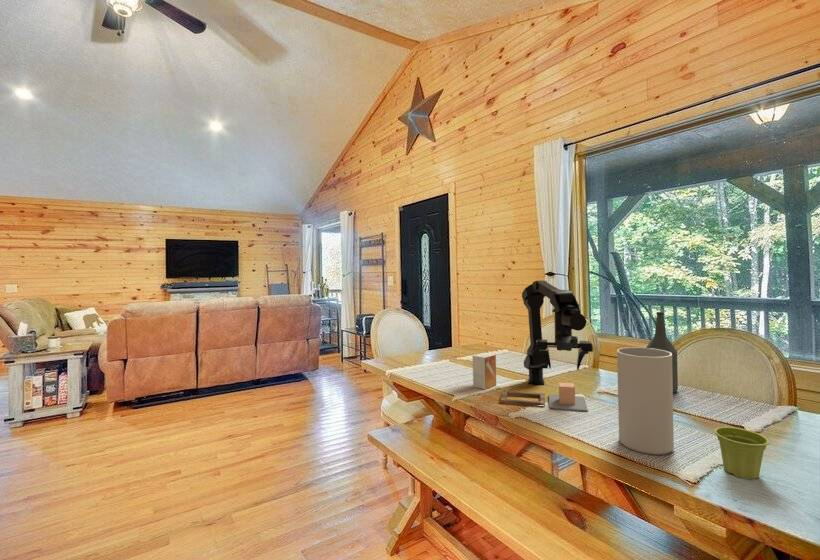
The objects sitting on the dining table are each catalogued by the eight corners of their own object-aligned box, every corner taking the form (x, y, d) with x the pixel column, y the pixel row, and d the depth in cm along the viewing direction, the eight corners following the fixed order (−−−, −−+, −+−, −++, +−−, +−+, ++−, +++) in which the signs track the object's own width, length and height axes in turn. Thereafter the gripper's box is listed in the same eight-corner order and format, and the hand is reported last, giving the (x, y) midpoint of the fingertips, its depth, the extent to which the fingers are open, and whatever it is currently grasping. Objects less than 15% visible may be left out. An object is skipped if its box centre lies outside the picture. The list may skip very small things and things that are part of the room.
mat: (549, 395, 145) (549, 394, 145) (583, 398, 141) (583, 396, 141) (549, 408, 132) (549, 407, 132) (587, 411, 128) (587, 410, 128)
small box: (485, 389, 155) (484, 357, 155) (472, 386, 160) (471, 355, 159) (497, 385, 161) (496, 354, 160) (484, 382, 165) (483, 352, 165)
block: (559, 398, 140) (558, 382, 140) (574, 400, 138) (573, 383, 138) (559, 403, 135) (559, 386, 135) (575, 404, 133) (574, 387, 133)
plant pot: (758, 466, 91) (758, 430, 90) (777, 487, 82) (777, 447, 82) (709, 460, 94) (709, 424, 94) (723, 479, 86) (722, 440, 86)
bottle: (677, 387, 150) (676, 310, 149) (678, 395, 142) (676, 313, 141) (646, 384, 156) (644, 310, 155) (645, 391, 147) (643, 312, 147)
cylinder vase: (628, 431, 112) (627, 345, 112) (679, 444, 103) (678, 351, 102) (611, 445, 104) (609, 352, 103) (665, 461, 94) (663, 359, 94)
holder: (503, 393, 149) (503, 390, 149) (544, 396, 144) (544, 393, 144) (500, 403, 139) (500, 400, 139) (544, 406, 134) (544, 403, 134)
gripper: (535, 329, 134) (536, 373, 134) (594, 330, 128) (595, 377, 128) (535, 324, 144) (536, 365, 145) (590, 325, 138) (591, 368, 139)
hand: (563, 369), depth 139 cm, fingers open, 9 cm apart
